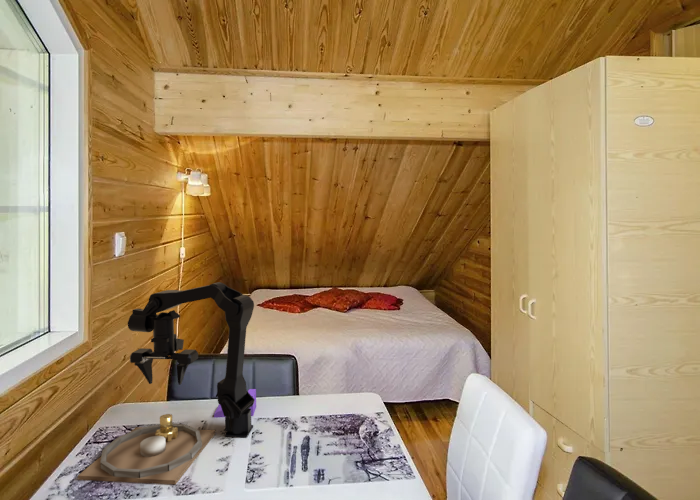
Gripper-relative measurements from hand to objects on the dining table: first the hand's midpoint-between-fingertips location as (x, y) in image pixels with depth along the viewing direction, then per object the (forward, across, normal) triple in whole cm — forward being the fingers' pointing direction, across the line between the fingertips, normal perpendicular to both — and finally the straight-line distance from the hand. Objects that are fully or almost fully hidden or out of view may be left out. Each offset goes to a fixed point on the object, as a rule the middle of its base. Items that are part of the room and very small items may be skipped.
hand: (165, 383), depth 131 cm
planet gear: (+11, -6, +11) cm, 16 cm away
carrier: (+12, -6, +18) cm, 22 cm away
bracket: (+13, -18, -9) cm, 24 cm away
